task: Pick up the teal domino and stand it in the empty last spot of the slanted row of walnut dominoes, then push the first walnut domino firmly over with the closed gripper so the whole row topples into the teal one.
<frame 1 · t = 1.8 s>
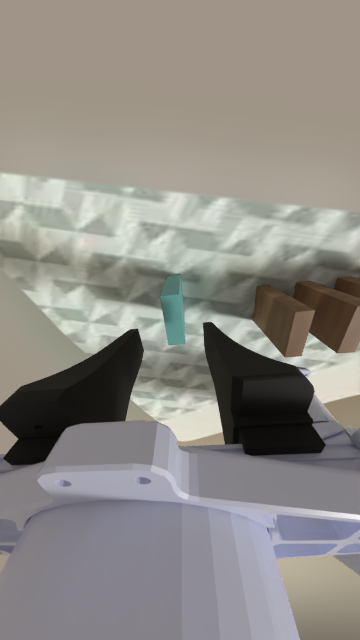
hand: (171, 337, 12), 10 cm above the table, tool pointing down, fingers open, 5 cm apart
teal domino: (176, 293, 21), on the table
walnut domino 4: (260, 303, 22), on the table
walnut domino 3: (298, 300, 22), on the table
walnut domino 2: (337, 296, 21), on the table
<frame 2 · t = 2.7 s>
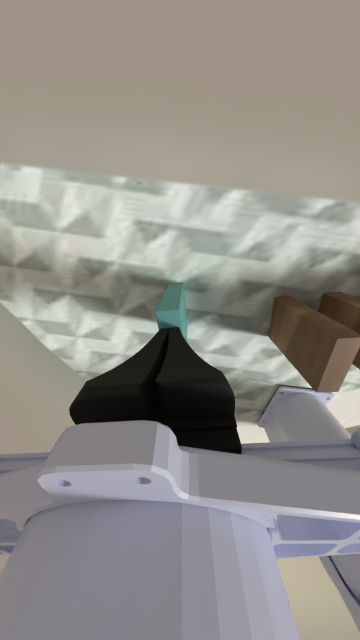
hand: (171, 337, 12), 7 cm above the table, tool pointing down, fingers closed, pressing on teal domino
teal domino: (178, 303, 19), on the table, touching gripper
walnut domino 4: (278, 317, 18), on the table
walnut domino 3: (324, 313, 18), on the table
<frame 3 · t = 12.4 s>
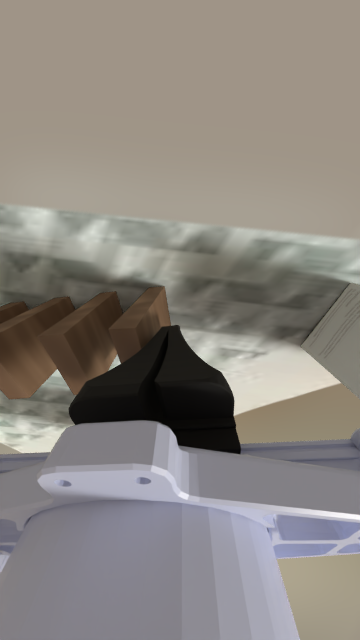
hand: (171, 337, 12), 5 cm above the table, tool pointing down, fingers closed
walnut domino 4: (29, 323, 18), on the table
walnut domino 1: (160, 309, 17), on the table, tilted 6°
walnut domino 3: (71, 318, 18), on the table
walnut domino 2: (115, 314, 17), on the table
skincare box: (341, 321, 18), on the table
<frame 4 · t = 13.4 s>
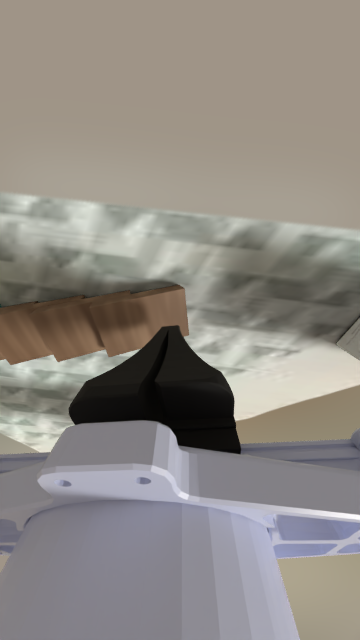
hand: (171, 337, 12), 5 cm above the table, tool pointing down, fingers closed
walnut domino 1: (184, 310, 16), point 1 cm above the table, tilted 71°, touching walnut domino 2
walnut domino 3: (91, 319, 17), point 1 cm above the table, tilted 71°, touching walnut domino 2, walnut domino 4
walnut domino 2: (136, 315, 17), point 1 cm above the table, tilted 70°, touching walnut domino 1, walnut domino 3
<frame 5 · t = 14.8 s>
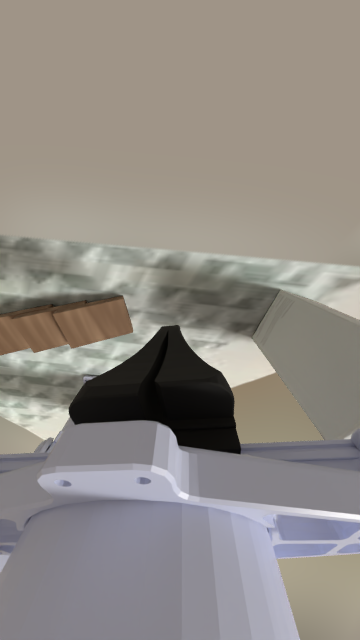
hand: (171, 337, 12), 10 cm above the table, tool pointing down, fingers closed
walnut domino 1: (128, 314, 22), point 1 cm above the table, tilted 72°, touching walnut domino 2
walnut domino 3: (58, 322, 23), point 1 cm above the table, tilted 72°
walnut domino 2: (92, 318, 22), point 1 cm above the table, tilted 71°, touching walnut domino 1
skincare box: (280, 318, 23), on the table
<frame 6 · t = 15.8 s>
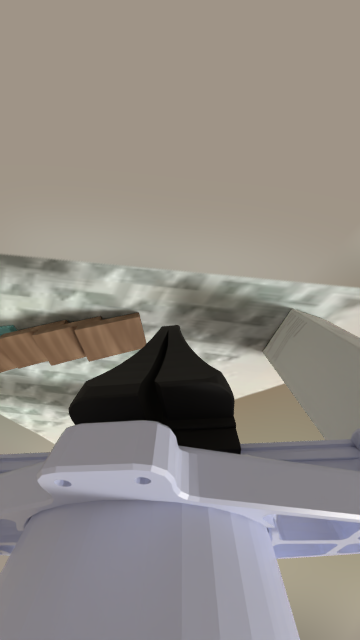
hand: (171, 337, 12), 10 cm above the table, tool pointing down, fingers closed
teal domino: (23, 338, 25), on the table, tilted 90°
walnut domino 4: (36, 344, 24), point 1 cm above the table, tilted 76°
walnut domino 1: (143, 330, 23), point 1 cm above the table, tilted 73°, touching walnut domino 2
walnut domino 3: (72, 336, 24), point 1 cm above the table, tilted 73°
walnut domino 2: (106, 333, 23), point 1 cm above the table, tilted 72°, touching walnut domino 1
skincare box: (290, 334, 24), on the table
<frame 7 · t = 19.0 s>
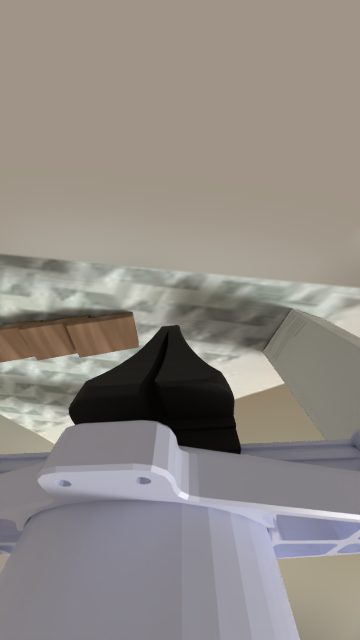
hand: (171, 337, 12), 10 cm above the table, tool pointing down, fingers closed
walnut domino 1: (135, 330, 23), point 1 cm above the table, tilted 76°, touching walnut domino 2
walnut domino 3: (46, 337, 24), point 1 cm above the table, tilted 71°
walnut domino 2: (93, 332, 23), point 1 cm above the table, tilted 76°, touching walnut domino 1
skincare box: (290, 334, 24), on the table
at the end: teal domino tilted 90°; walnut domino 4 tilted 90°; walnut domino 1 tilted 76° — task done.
